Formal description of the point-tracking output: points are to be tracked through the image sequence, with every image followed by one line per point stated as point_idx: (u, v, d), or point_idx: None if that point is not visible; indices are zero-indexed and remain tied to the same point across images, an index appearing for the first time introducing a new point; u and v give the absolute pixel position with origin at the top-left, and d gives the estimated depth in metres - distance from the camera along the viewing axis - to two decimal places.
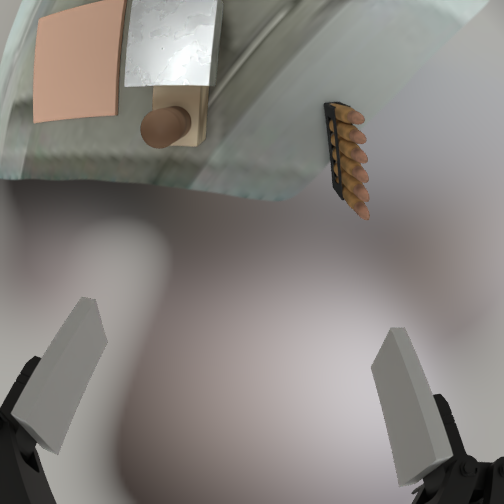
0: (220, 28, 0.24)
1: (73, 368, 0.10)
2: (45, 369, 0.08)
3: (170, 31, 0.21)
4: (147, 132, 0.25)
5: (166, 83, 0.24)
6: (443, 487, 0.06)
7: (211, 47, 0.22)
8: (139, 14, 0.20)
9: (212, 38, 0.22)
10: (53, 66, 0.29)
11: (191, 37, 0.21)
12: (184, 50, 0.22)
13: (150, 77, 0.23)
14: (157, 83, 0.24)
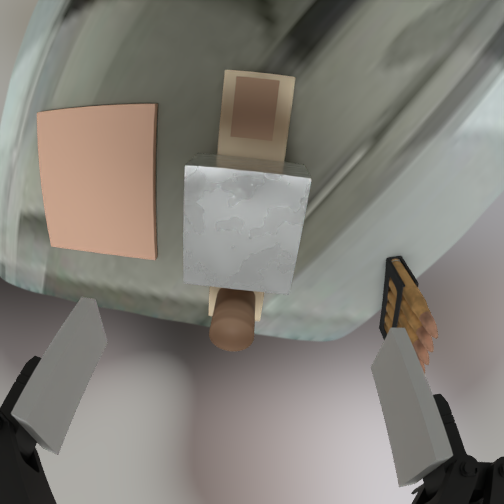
0: None
1: (73, 368, 0.10)
2: (45, 369, 0.08)
3: (244, 225, 0.21)
4: (217, 337, 0.24)
5: (238, 287, 0.23)
6: (443, 487, 0.06)
7: (296, 252, 0.22)
8: (197, 191, 0.20)
9: (298, 241, 0.21)
10: (67, 186, 0.28)
11: (272, 237, 0.21)
12: (262, 254, 0.22)
13: (218, 278, 0.23)
14: (227, 286, 0.23)
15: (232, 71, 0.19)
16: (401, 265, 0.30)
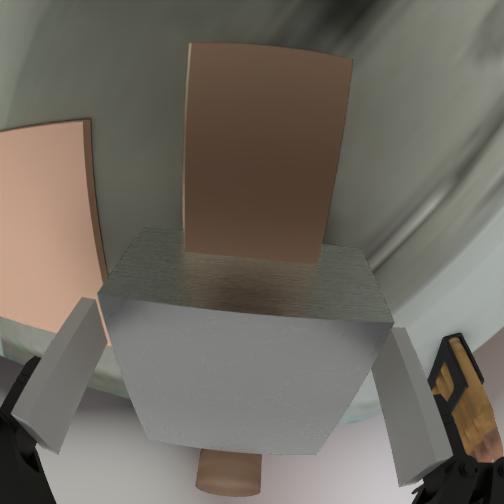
0: None
1: (73, 368, 0.10)
2: (45, 369, 0.08)
3: (240, 395, 0.09)
4: (207, 488, 0.13)
5: (235, 451, 0.12)
6: (443, 487, 0.06)
7: (337, 420, 0.10)
8: (136, 343, 0.08)
9: (344, 408, 0.10)
10: None
11: (296, 409, 0.10)
12: (276, 425, 0.10)
13: (200, 441, 0.12)
14: (216, 448, 0.12)
15: None
16: (462, 349, 0.19)
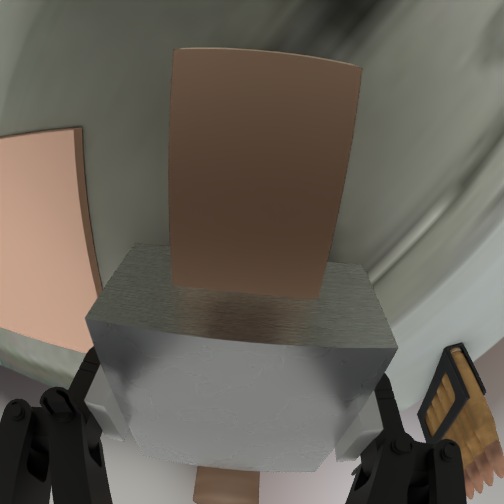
0: None
1: None
2: None
3: (237, 419, 0.09)
4: (205, 503, 0.13)
5: (232, 468, 0.11)
6: (376, 468, 0.07)
7: (336, 440, 0.10)
8: (127, 367, 0.08)
9: (344, 429, 0.09)
10: None
11: (294, 431, 0.09)
12: (274, 445, 0.10)
13: (197, 459, 0.11)
14: (213, 466, 0.11)
15: None
16: (464, 360, 0.18)
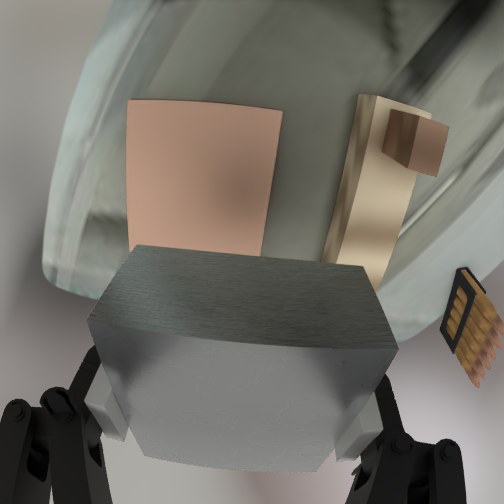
0: None
1: None
2: None
3: (238, 419, 0.09)
4: None
5: (233, 469, 0.11)
6: (376, 468, 0.07)
7: None
8: (129, 368, 0.08)
9: None
10: (162, 187, 0.28)
11: (294, 431, 0.09)
12: (275, 446, 0.10)
13: (198, 460, 0.11)
14: (214, 466, 0.11)
15: (383, 98, 0.20)
16: (469, 275, 0.31)
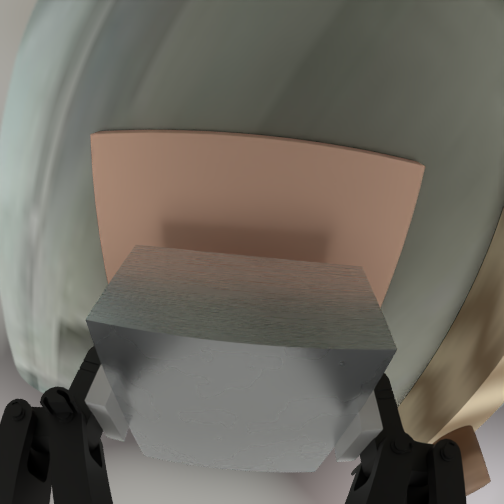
0: None
1: None
2: None
3: (237, 419, 0.09)
4: None
5: (232, 468, 0.11)
6: (375, 468, 0.07)
7: (336, 440, 0.10)
8: (128, 368, 0.08)
9: (343, 430, 0.09)
10: None
11: (293, 431, 0.09)
12: (273, 446, 0.10)
13: (197, 460, 0.11)
14: (213, 466, 0.11)
15: None
16: None
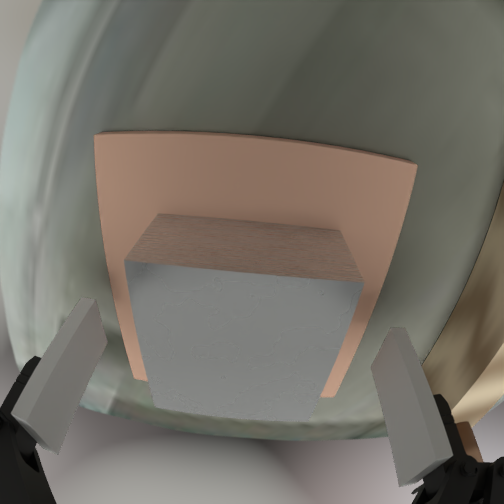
0: None
1: (73, 368, 0.10)
2: (45, 369, 0.08)
3: (239, 352, 0.12)
4: None
5: (234, 416, 0.14)
6: (443, 487, 0.06)
7: (324, 381, 0.13)
8: (153, 303, 0.11)
9: (329, 368, 0.12)
10: None
11: (287, 367, 0.12)
12: (271, 385, 0.13)
13: (203, 407, 0.14)
14: (217, 414, 0.14)
15: None
16: None
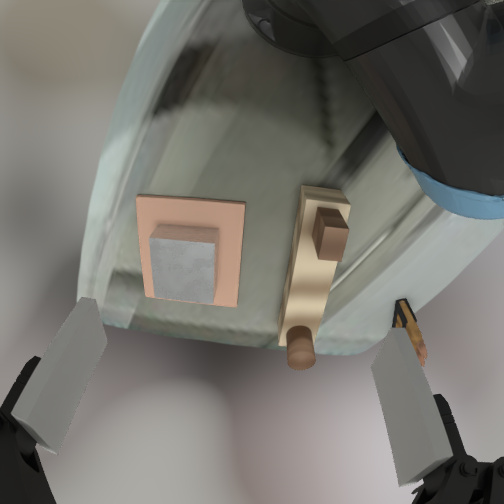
0: None
1: (73, 368, 0.10)
2: (45, 369, 0.08)
3: (182, 267, 0.37)
4: (292, 362, 0.38)
5: (184, 300, 0.40)
6: (443, 487, 0.06)
7: (213, 281, 0.38)
8: (156, 250, 0.36)
9: (213, 275, 0.38)
10: None
11: (198, 273, 0.38)
12: (194, 282, 0.38)
13: (172, 294, 0.40)
14: (178, 299, 0.40)
15: (311, 200, 0.32)
16: (406, 306, 0.43)
